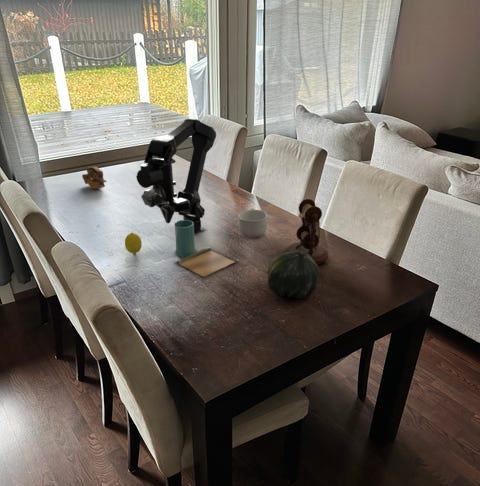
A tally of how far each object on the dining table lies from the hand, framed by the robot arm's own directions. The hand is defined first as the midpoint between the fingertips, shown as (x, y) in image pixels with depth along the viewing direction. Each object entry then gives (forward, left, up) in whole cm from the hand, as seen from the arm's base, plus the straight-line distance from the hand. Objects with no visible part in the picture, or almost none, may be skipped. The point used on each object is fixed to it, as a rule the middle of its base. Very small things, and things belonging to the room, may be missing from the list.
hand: (168, 222), depth 152 cm
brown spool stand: (+41, +26, -9) cm, 49 cm away
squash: (+51, +6, -9) cm, 52 cm away
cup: (+9, 0, -8) cm, 12 cm away
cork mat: (+20, 0, -8) cm, 22 cm away
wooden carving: (-74, +13, -9) cm, 76 cm away
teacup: (+14, +29, -9) cm, 33 cm away
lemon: (-3, -13, -9) cm, 16 cm away
